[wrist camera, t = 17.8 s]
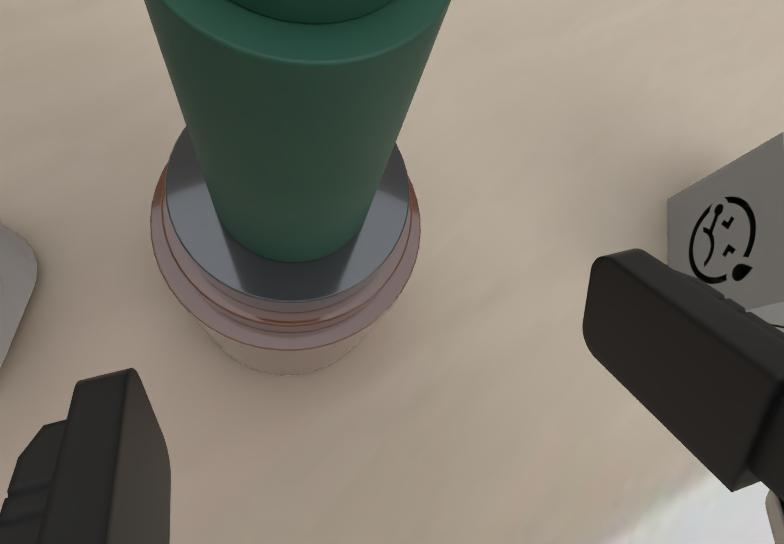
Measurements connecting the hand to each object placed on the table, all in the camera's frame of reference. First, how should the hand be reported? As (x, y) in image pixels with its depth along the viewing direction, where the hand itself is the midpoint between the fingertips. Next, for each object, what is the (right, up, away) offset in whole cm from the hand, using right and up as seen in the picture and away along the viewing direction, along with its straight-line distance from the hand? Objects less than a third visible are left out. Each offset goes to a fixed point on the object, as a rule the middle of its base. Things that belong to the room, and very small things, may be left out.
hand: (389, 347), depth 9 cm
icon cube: (+25, +1, +31) cm, 40 cm away
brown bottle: (-6, 0, +25) cm, 25 cm away
